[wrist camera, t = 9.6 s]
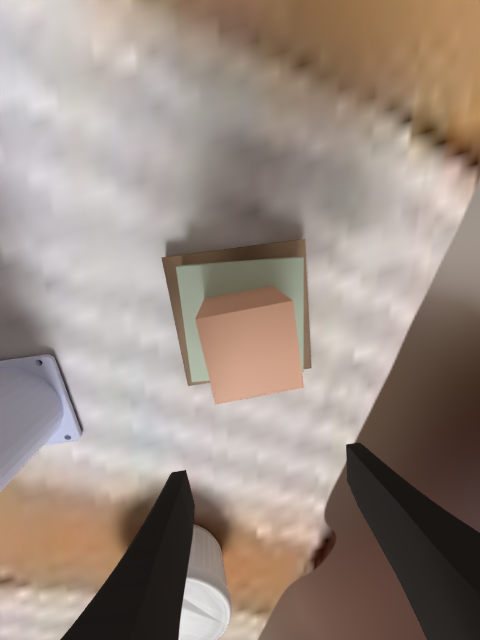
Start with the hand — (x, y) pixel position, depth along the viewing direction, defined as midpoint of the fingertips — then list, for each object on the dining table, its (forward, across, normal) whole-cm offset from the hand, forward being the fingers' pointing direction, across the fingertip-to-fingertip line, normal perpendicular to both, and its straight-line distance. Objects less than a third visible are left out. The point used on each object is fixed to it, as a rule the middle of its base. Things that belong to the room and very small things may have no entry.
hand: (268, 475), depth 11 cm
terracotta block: (+7, 0, -5) cm, 9 cm away
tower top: (+9, 0, -5) cm, 10 cm away
